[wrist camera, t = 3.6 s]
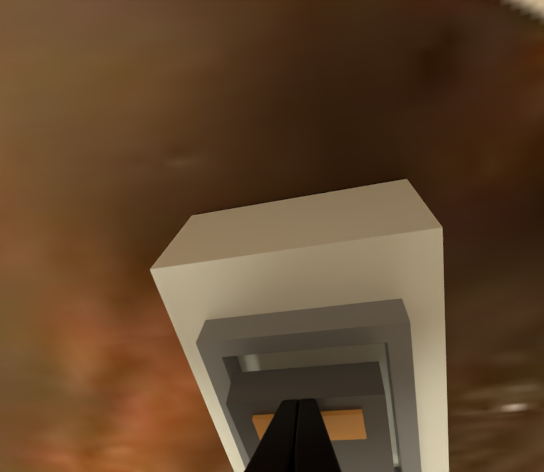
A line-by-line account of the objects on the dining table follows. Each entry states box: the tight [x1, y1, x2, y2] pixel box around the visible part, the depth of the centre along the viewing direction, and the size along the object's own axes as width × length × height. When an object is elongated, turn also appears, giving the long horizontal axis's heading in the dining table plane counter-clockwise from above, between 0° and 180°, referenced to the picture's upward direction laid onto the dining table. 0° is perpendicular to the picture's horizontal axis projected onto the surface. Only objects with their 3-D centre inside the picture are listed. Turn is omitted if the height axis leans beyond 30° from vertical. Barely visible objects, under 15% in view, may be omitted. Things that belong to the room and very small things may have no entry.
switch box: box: [150, 179, 449, 472], centre depth 16 cm, size 24×8×5 cm, turn 13°
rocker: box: [226, 361, 395, 472], centre depth 11 cm, size 6×4×1 cm, turn 13°
